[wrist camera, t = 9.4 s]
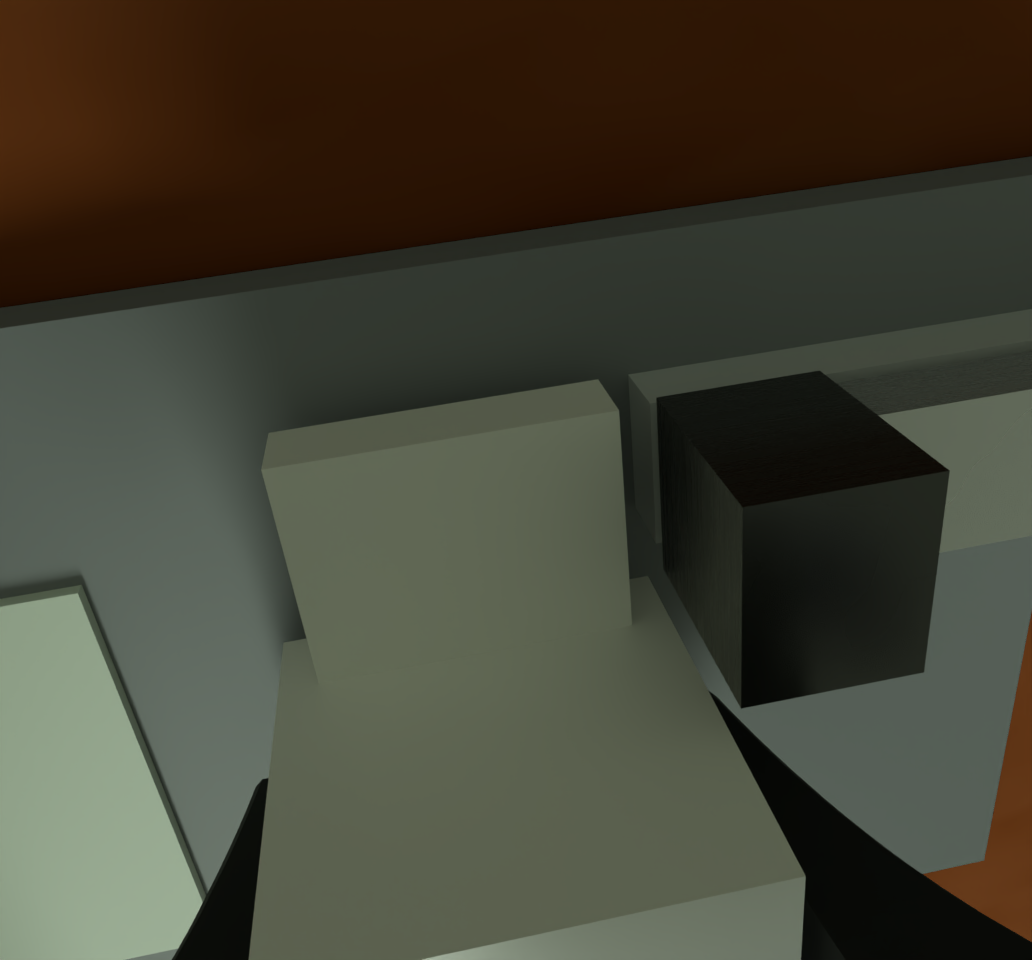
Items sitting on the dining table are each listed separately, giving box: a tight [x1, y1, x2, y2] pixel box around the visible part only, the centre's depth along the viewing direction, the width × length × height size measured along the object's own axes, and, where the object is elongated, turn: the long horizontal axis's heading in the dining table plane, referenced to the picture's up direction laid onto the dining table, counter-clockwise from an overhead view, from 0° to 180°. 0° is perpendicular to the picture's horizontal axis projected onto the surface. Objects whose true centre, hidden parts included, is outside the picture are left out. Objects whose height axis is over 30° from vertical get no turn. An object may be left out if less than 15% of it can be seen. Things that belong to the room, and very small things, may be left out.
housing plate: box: [0, 156, 1032, 960], centre depth 14 cm, size 13×21×2 cm, turn 96°
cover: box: [249, 379, 806, 960], centre depth 11 cm, size 8×5×5 cm, turn 6°
